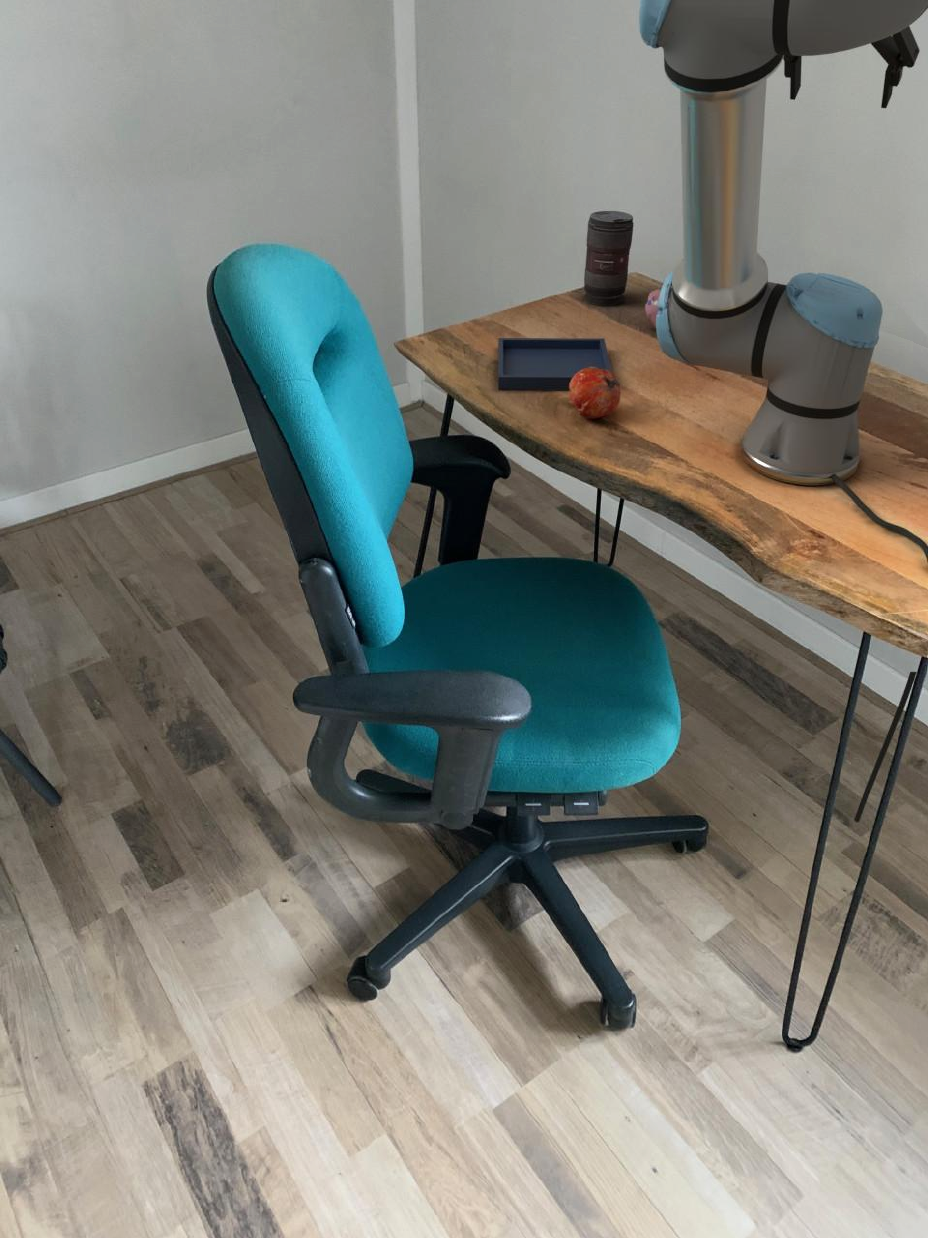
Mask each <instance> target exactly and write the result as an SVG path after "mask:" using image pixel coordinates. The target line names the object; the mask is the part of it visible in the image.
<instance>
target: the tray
mask: <svg viewBox="0 0 928 1238" xmlns="http://www.w3.org/2000/svg"><path fill="white" fill-rule="evenodd" d="M497 339H498V340H497V390H499V391H500V390H504V391H505V390H507V391H508V390H511V391H512V390H513V391H524V390H525V391H527V390H528V391H570V389H569V384H570V382H571V380H572V378H573V377H574V375H575V374H577V373H578V372H579V371H580V370H582V369H585V368H588V367H597V368H599V369H605V370H609V371H610V372H611V373H612V374H613V370H612V366H611V362H610V361H611V360H610V357H609V353H608V348H607V344H606V340H605V338H577V337H575V338H573V337H571V338H570V337H569V338H568V337H566V338H565V337H546V338H545V337H498V338H497Z"/></svg>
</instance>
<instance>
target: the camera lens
mask: <svg viewBox="0 0 928 1238" xmlns="http://www.w3.org/2000/svg"><path fill="white" fill-rule="evenodd" d="M634 225H635V223H634V216H633V215H632V214H630V213H628V212H624V211H618V210H600V211H595V212H592V213H590V214H589V219H588V220H587V232H586V254H585V255H586V256H585V267H584V276H583V285H584V286H583V290H584V292H585V300H586V301H587V302H588V303H590V304H592V305H595V306H603V307H605V306H607V307H608V306H615V305H617V304H619V303H621V302H622V300H623V295H624V293H625V292H626V287H627V283H628V275H629V263H630V253H631V247H632V243H633V234H634Z"/></svg>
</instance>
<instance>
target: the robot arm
mask: <svg viewBox="0 0 928 1238" xmlns="http://www.w3.org/2000/svg"><path fill="white" fill-rule="evenodd" d="M927 10H928V0H639V10H638V27H639V29H638V30H639V34H640V37H641V39H642V41H643V43H644V44H645V45H646V46H649V47H651V48H653V49H659V48H662V50H663V67H664V68H663V69H664V74H665V77H666V79H667V80H668V82H670V83H671V84H672V85H673V86H674V87H675V88H677V89H679V105H680V146H681V147H680V148H681V149H680V151H681V153H680V154H681V155H680V156H681V195H682V199H681V200H682V241H683V243H682V244H683V258H681V260H680V261H679V262H678V263H677V264H676V266H675V267H674V269H673V270H672V271H671V272H669V274H668V275H667V277H666V278H665V280H664V281H663V283H662V286H661V289H660V290H661V292H660V295H659V300H658V305H657V307H658V314H657V315H656V328H655V330H656V337H657V341H658V344H659V347H660V349H661V351H662V352H663V353H664V355H665V356H667V357H668V358H669V359H672V360H675V361H678V362H683V363H685V364H687V365H688V366H696V367H703V368H707V369H708V368H709V369H712V370H718V371H723V372H729V373H734V374H739V375H744V376H749V377H754V378H759V379H764V380H767V388H766V393H765V397H764V400H763V402H762V403H761V404H760V407H759V409H758V410H757V412H756V414H755V415H754V417H753V418H752V420H751V422H750V424H749V425H748V427H747V429H746V430H745V433H744V435H743V437H742V441H741V446H740V455H741V457H742V460H743V461H744V462H745V464H747V466H749V467H750V468H751V469H752V470H754V471H756V472H758V473H760V474H761V475H763V476H766V477H768V478H770V479H773V480H776V481H779V482H783V483H789V484H793V485H794V484H795V485H799V486H800V485H802V486H825V485H832V484H836V485H837V486H838V487H839V488H840V489H841V490H842V491H843V492H844V493H845V494H846V495H847V496H848V497H849V498H850V499H851V500H852V501H853V503H855V505H857V507H858V508H859V509H860V510H861V511H862V512H863V513H864V514H865V515H866V516H867V517H868V518H869V519H870V520H872V521H873V523H875V524H877V525H878V526H880V527H882V528H885V529H887V530H889V531H894V532H896V533H899V534H900V535H902V536H904V537H906V538H907V539H909V540H910V541H912V542H913V543H915V544H916V545H917V546H919V547H920V549H921V550H922V552H923V553H924V555H925V559H926V562H927V563H928V544H927V542H925V541H924V540H923V539H922V538H921V537H919V536H917V534H914V533H913V532H912V531H910V530H909V529H907V528H905V527H902V526H900V525H897V524H894V523H891V522H888V521H887V520H884V519H882V518H881V517H879V516H878V515H877V514H876V513H875V512H874V511H872V510H871V508H870V507H868V506H867V505H866V504H865V502H863V501H862V499H861V498H859V495H857V494H856V493H855V492H854V491H853V490H852V489H851V488H850V487H849V486H848V485H847V484H846V483H845V482H844V481H845V480H848V479H849V478H850V477H853V475H854V474H855V473H856V471H857V470H858V466H859V462H860V458H861V444H860V443H861V442H860V432H859V430H860V429H859V421H858V420H859V419H858V410H859V407H860V403H861V398H862V396H863V392H864V388H865V384H866V380H867V376H868V372H869V368H870V365H871V362H872V357H873V354H874V350H875V347H876V346H877V344H878V343H879V340H880V335H879V333H880V328H881V324H882V317H883V314H884V313H883V312H884V311H883V304H882V302H881V299H879V297H878V296H877V295H876V293H875V292H873V291H872V290H870V288H868V287H866V286H864V285H863V284H861V283H858V282H856V281H854V280H852V279H849V278H846V277H843V276H840V275H836V274H831V273H823V272H818V273H814V272H802V273H798V274H795V275H793V277H791V278H790V280H789V281H788V282H787V284H782V283H777V282H771V281H769V268H768V266H767V262H766V260H765V259H764V257H763V256H762V255H760V253H758V252H757V251H758V234H759V215H760V202H761V201H760V199H761V185H762V184H761V182H762V166H763V165H762V164H763V149H764V148H763V147H764V134H765V133H764V131H765V117H766V116H765V114H766V99H767V96H766V94H767V79H769V78H770V77H771V76H772V75H773V74H774V73H775V72H776V71H777V70H778V68H779V67H780V66H781V64H782V62H783V63H784V64H783V66H784V69H783V75H784V77H785V79H786V78H787V79H788V78H789V80H790V81H789V83H790V84H789V100H793V101H795V100H796V98H797V96H798V94H799V91H800V89H801V87H802V62H803V61H802V57H814V56H815V57H816V56H824V55H831V54H836V53H841V52H845V51H850V50H853V49H857V48H861V47H864V46H867V45H871V46H872V47H873V49H875V51H876V52H877V53H878V54H879V56H880V57H881V58H882V59H883V60H884V61H885V62H886V64H887V66H886V69H885V73H884V79H883V80H884V81H883V89H882V95H881V97H882V98H881V105H880V108H881V109H887V107H888V106H889V103H890V100H891V98H892V95H893V90H894V87H895V88H896V87H898V86H899V84H900V82H901V81H902V77H903V71H904V67H906V68H908V69H910V68H913V67H914V66H915V64H916V61H917V59H918V56H919V54H920V52H921V51H920V47H919V45H918V43H917V40H916V38H915V36H914V33H913V31H912V29H911V27H910V26H911V25H912V24H914V23H915V22H916V21H918V19H919V18H921V17H922V16H923V15H924V13H925V12H926V11H927ZM917 673H918V672H917V671H910V672H909V674H908V676H907V677H908V678H907V680H906V683H905V687H904V689H903V692H902V695H901V698H900V701H899V703H898V706H897V708H896V711H895V714H894V716H893V719H892V721H891V723H890V726H889V729H888V732H887V734H886V737H885V739H884V741H883V743H882V746H881V749H880V750H879V753H878V756H877V758H876V762H875V763H874V766H873V769H872V770H871V774H870V776H869V778H868V781H867V784H866V786H865V789H864V792H863V793H862V797H861V799H860V802H859V804H858V808H857V810H856V813H855V816H854V819H853V820H854V822H855V823H860V821H861V818H862V815H863V813H864V810H865V807H866V805H867V802H868V800H869V797H870V794H871V792H872V789H873V786H874V784H875V781H876V778H877V776H878V773H879V771H880V769H881V767H882V764H883V762H884V759H885V757H886V754H887V752H888V750H889V747H890V745H891V742H892V739H893V737H894V735H895V733H896V730H897V727H898V725H899V722H900V720H901V718H902V714H903V712H904V710H905V707H906V704H907V701H908V698H909V696H910V693H911V690H912V687H913V684H914V681H915V679H916V676H917Z"/></svg>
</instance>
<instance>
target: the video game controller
mask: <svg viewBox="0 0 928 1238" xmlns="http://www.w3.org/2000/svg"><path fill="white" fill-rule="evenodd" d="M660 292H661V289H655V290H652V291H651V292H650V293H649V294H648V297H647V303H646V304H645V305H644V311H645V314H646V318H647V319H648V322H649V323H650V324H652V326H653V327H654V329H656V315H657V314H658V307H657V305H658V300H659V295H660Z"/></svg>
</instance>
